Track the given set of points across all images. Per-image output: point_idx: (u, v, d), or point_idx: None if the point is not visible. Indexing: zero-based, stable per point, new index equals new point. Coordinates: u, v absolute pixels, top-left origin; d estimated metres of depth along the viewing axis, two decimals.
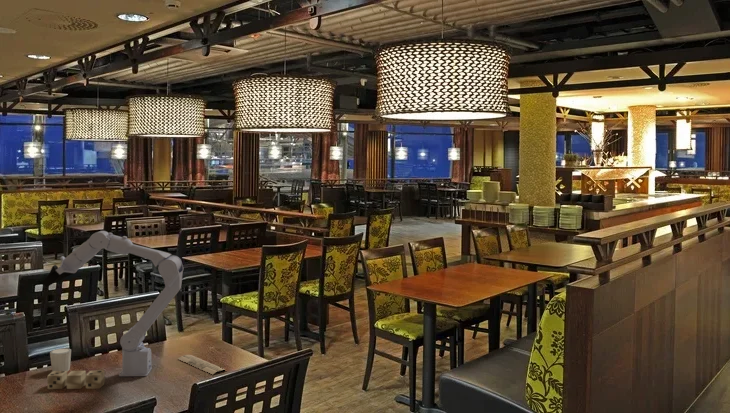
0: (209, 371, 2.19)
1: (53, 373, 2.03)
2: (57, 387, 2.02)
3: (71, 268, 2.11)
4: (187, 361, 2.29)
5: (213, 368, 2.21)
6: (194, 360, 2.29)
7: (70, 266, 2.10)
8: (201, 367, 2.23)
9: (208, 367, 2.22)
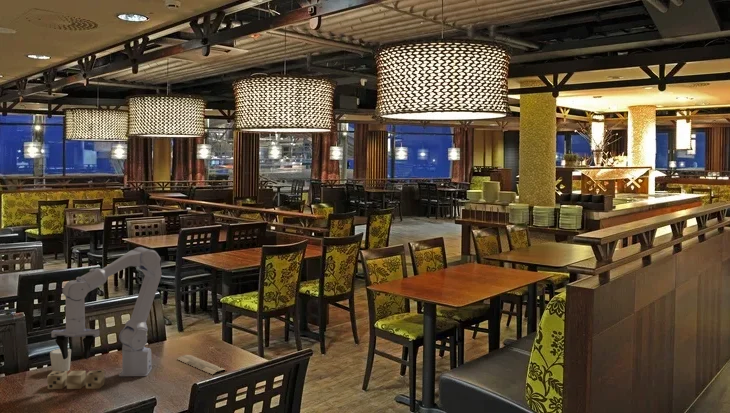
0: (209, 371, 2.19)
1: (53, 373, 2.03)
2: (57, 387, 2.02)
3: None
4: (186, 361, 2.29)
5: (213, 368, 2.21)
6: (193, 360, 2.29)
7: None
8: (201, 367, 2.23)
9: (208, 367, 2.22)
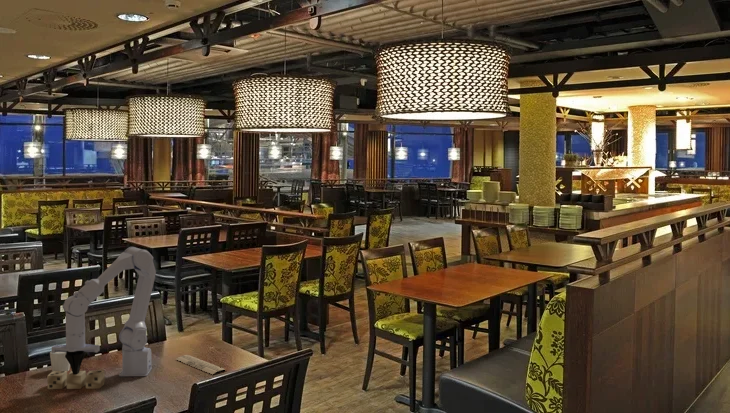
0: (209, 371, 2.19)
1: (53, 373, 2.03)
2: (57, 387, 2.02)
3: None
4: (186, 361, 2.29)
5: (213, 368, 2.21)
6: (193, 360, 2.29)
7: None
8: (200, 367, 2.23)
9: (208, 367, 2.22)
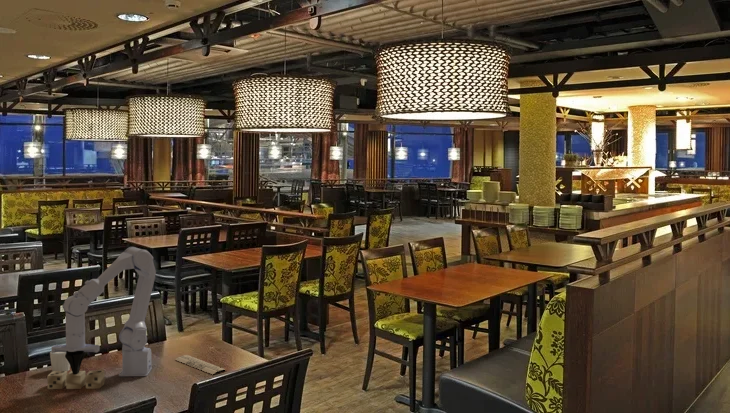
0: (209, 371, 2.19)
1: (53, 373, 2.03)
2: (57, 387, 2.02)
3: None
4: (185, 362, 2.29)
5: (213, 368, 2.21)
6: (192, 360, 2.29)
7: None
8: (200, 367, 2.23)
9: (207, 367, 2.22)
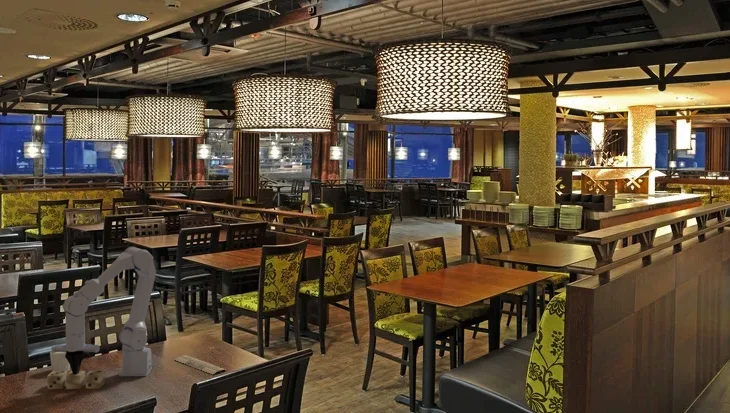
0: (209, 371, 2.19)
1: (53, 373, 2.03)
2: (57, 387, 2.02)
3: None
4: (185, 362, 2.28)
5: (213, 368, 2.21)
6: (192, 361, 2.29)
7: None
8: (200, 367, 2.23)
9: (207, 367, 2.22)
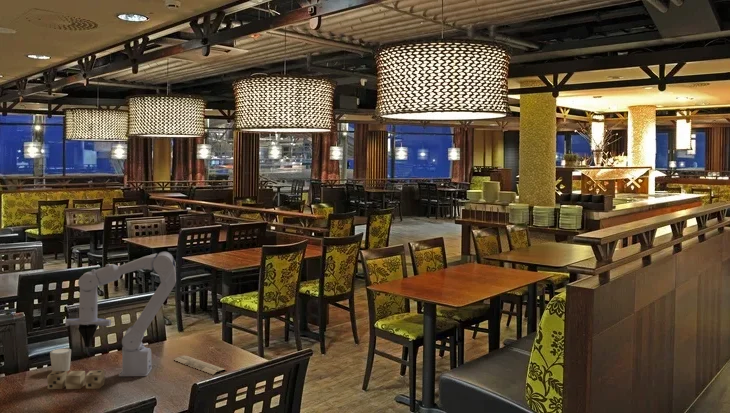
0: (209, 371, 2.19)
1: (53, 373, 2.03)
2: (57, 387, 2.02)
3: None
4: (184, 362, 2.28)
5: (213, 368, 2.21)
6: (191, 361, 2.28)
7: None
8: (200, 367, 2.22)
9: (207, 367, 2.22)
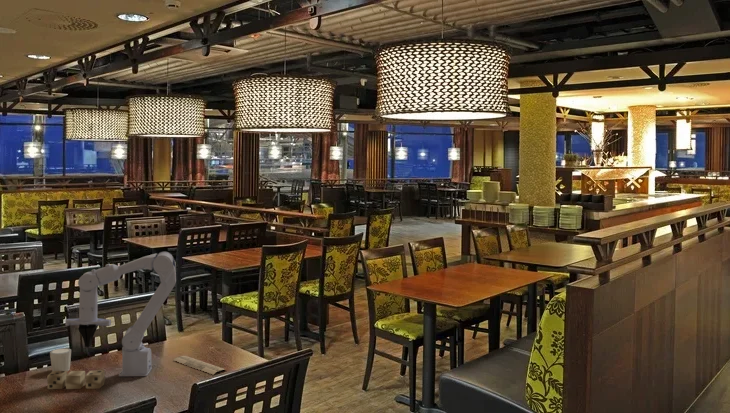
0: (209, 371, 2.19)
1: (53, 373, 2.03)
2: (57, 387, 2.02)
3: None
4: (184, 362, 2.28)
5: (212, 368, 2.21)
6: (191, 361, 2.28)
7: None
8: (200, 367, 2.22)
9: (207, 367, 2.22)
